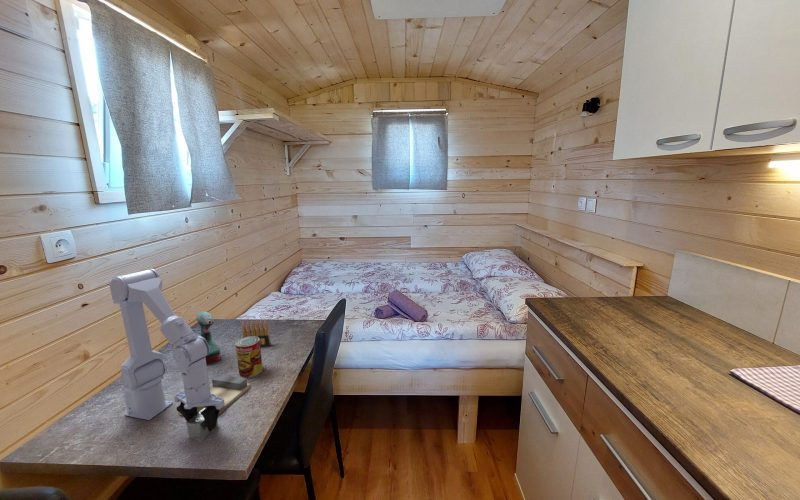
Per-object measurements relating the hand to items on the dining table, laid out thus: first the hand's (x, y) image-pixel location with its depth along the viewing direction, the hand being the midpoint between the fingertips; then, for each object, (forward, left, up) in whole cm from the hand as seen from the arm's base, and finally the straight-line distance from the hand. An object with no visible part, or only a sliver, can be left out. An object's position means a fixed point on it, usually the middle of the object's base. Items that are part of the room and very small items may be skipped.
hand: (203, 426), depth 93 cm
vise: (-7, +12, -1) cm, 14 cm away
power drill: (-27, +32, -2) cm, 42 cm away
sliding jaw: (-7, +7, 0) cm, 10 cm away
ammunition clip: (-17, +46, -2) cm, 49 cm away
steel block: (0, 0, -2) cm, 2 cm away
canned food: (-7, +29, -2) cm, 30 cm away
